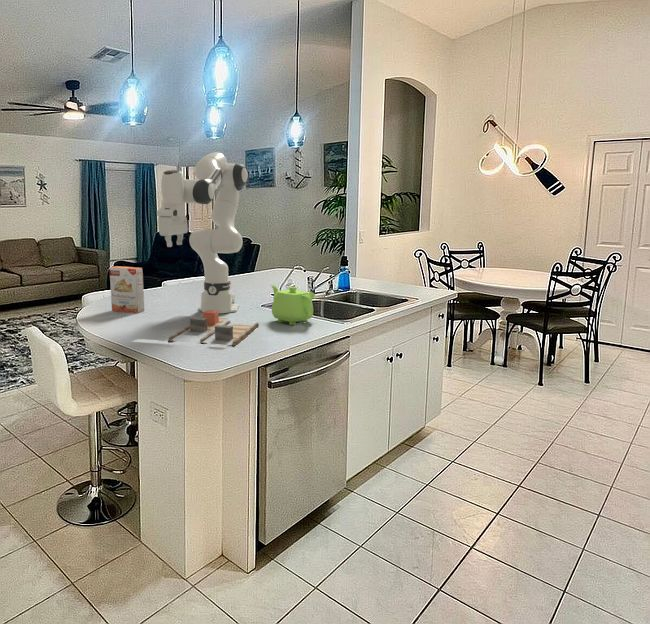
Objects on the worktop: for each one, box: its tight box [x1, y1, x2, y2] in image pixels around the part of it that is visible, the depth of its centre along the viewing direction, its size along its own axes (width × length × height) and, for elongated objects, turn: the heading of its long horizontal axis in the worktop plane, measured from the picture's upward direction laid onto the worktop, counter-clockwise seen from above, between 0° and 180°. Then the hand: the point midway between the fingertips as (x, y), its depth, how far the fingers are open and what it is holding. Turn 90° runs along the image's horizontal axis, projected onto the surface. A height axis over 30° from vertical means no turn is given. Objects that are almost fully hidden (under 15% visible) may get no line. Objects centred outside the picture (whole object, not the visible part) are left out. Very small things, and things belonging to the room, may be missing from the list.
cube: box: [202, 310, 220, 325], centre depth 232 cm, size 5×5×5 cm
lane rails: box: [168, 320, 260, 347], centre depth 219 cm, size 32×26×2 cm
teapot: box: [270, 284, 316, 326], centre depth 246 cm, size 25×22×16 cm
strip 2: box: [212, 324, 252, 342], centre depth 218 cm, size 26×8×6 cm, turn 171°
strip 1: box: [187, 317, 228, 334], centre depth 229 cm, size 26×8×6 cm, turn 171°
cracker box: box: [109, 265, 145, 314], centre depth 256 cm, size 14×6×21 cm, turn 76°
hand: (174, 245), depth 223 cm, fingers open, 8 cm apart
